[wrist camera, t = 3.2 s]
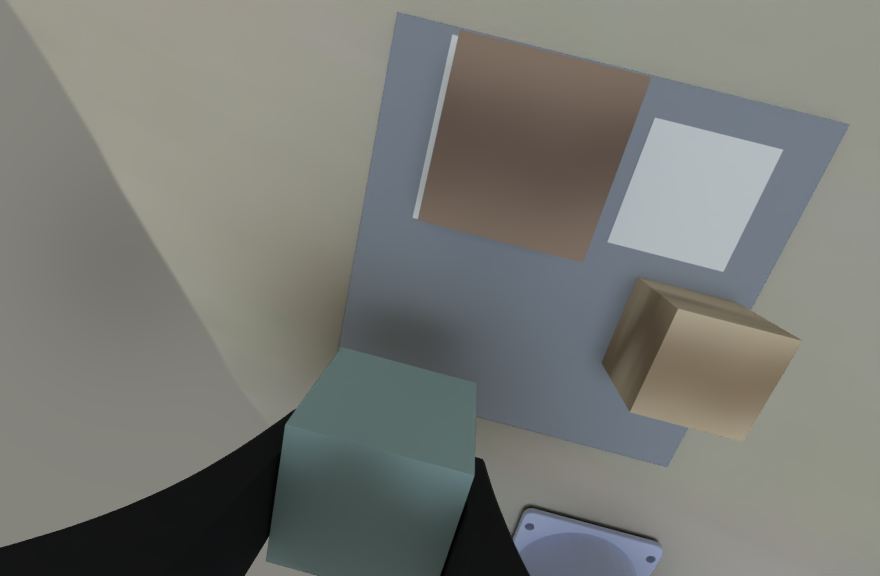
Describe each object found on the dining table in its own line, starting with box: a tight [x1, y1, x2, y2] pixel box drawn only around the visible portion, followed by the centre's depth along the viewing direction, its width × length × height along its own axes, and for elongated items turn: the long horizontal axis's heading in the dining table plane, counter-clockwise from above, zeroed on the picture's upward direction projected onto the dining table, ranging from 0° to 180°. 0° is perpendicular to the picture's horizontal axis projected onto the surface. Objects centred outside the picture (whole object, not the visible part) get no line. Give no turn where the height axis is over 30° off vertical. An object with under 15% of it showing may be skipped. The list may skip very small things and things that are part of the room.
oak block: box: [602, 277, 802, 442], centre depth 17 cm, size 4×4×4 cm
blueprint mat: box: [338, 12, 850, 467], centre depth 19 cm, size 17×18×1 cm
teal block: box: [266, 347, 477, 576], centre depth 12 cm, size 4×4×4 cm
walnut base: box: [418, 30, 652, 263], centre depth 15 cm, size 6×6×4 cm
